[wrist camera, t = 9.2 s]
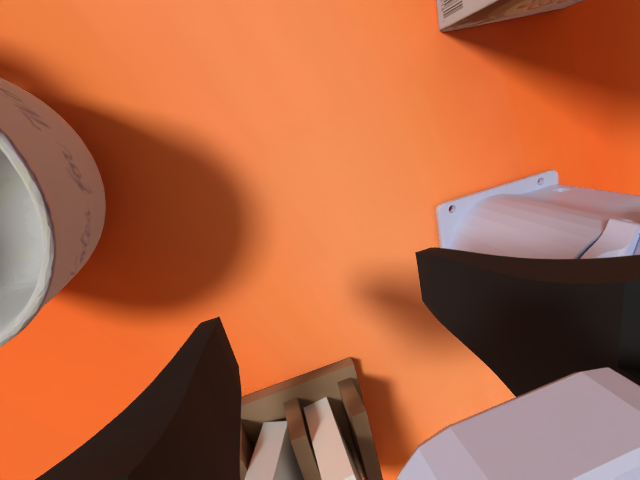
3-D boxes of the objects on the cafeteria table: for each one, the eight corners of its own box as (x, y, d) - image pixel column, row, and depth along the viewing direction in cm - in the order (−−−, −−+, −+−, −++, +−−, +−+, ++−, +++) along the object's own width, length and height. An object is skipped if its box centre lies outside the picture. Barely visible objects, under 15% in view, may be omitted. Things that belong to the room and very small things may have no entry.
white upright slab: (326, 396, 24) (353, 474, 19) (354, 460, 27) (386, 545, 21) (303, 407, 24) (324, 489, 18) (334, 470, 26) (360, 559, 21)
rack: (350, 357, 25) (370, 396, 21) (376, 461, 28) (397, 510, 25) (215, 406, 23) (211, 458, 20) (260, 510, 27) (264, 569, 23)
